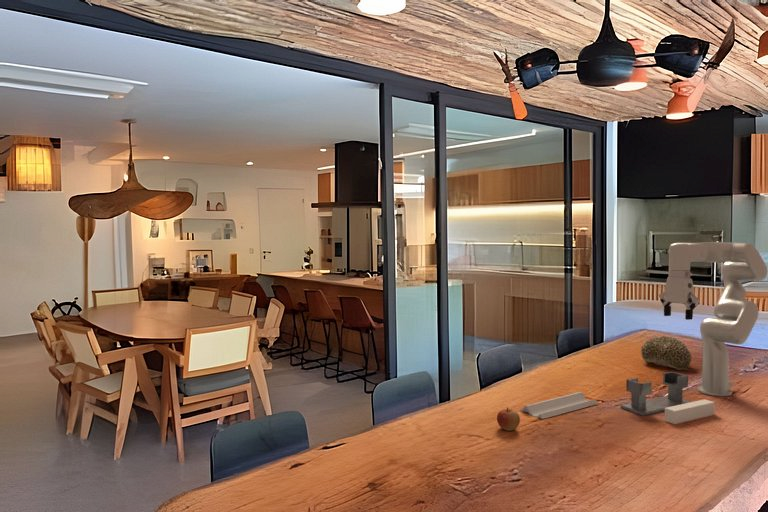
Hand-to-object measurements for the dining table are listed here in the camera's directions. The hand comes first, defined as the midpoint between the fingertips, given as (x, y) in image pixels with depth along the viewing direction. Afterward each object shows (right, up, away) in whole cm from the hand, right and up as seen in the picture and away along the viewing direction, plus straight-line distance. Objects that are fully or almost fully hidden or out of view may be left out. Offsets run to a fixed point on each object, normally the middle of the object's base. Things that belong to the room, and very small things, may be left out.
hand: (677, 317), depth 219 cm
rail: (-4, -36, -15) cm, 39 cm away
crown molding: (-48, -36, -2) cm, 60 cm away
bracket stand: (-9, -35, -2) cm, 36 cm away
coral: (+26, -31, +60) cm, 72 cm away
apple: (-73, -37, -24) cm, 85 cm away
